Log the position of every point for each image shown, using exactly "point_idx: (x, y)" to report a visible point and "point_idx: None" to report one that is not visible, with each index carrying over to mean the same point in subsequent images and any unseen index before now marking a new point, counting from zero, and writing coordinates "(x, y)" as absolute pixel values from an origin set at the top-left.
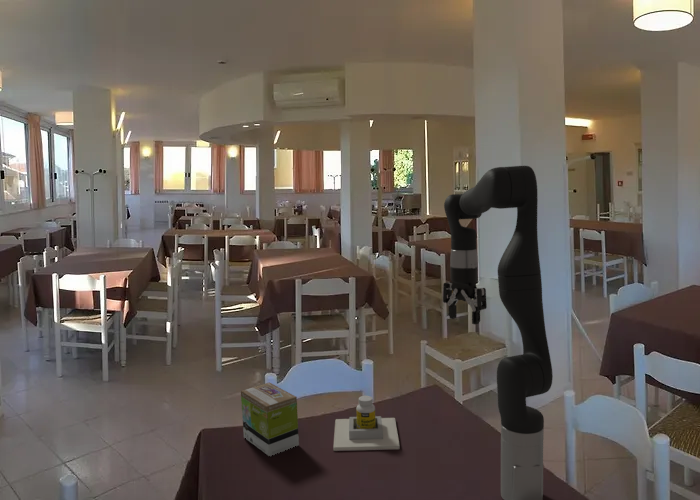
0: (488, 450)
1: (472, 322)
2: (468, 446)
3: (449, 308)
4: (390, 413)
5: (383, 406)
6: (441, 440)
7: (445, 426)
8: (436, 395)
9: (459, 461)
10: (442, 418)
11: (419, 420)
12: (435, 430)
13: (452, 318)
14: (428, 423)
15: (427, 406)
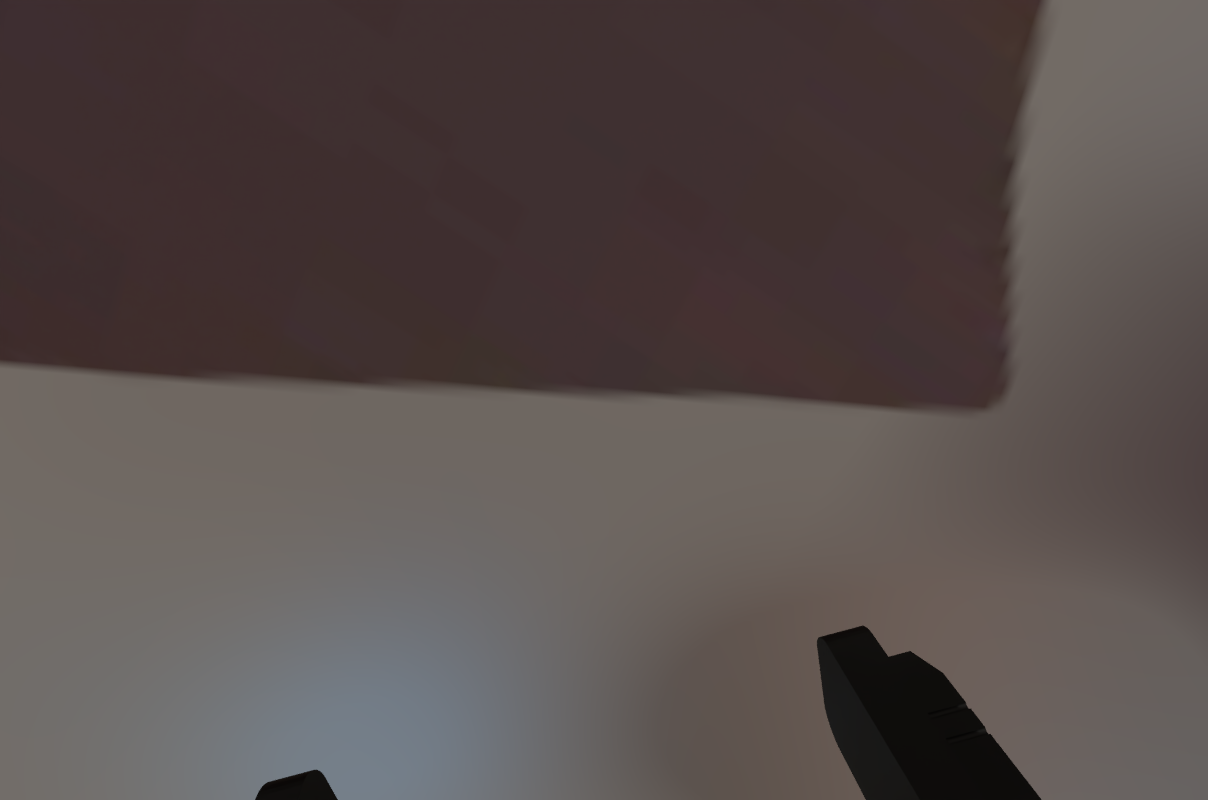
0: (277, 253)
1: (288, 791)
2: (348, 189)
3: (983, 792)
4: (875, 17)
5: (973, 30)
6: (459, 98)
7: (590, 211)
8: (909, 368)
9: (211, 46)
10: (675, 249)
11: (716, 124)
12: (574, 136)
13: (820, 652)
14: (661, 149)
15: (832, 258)
